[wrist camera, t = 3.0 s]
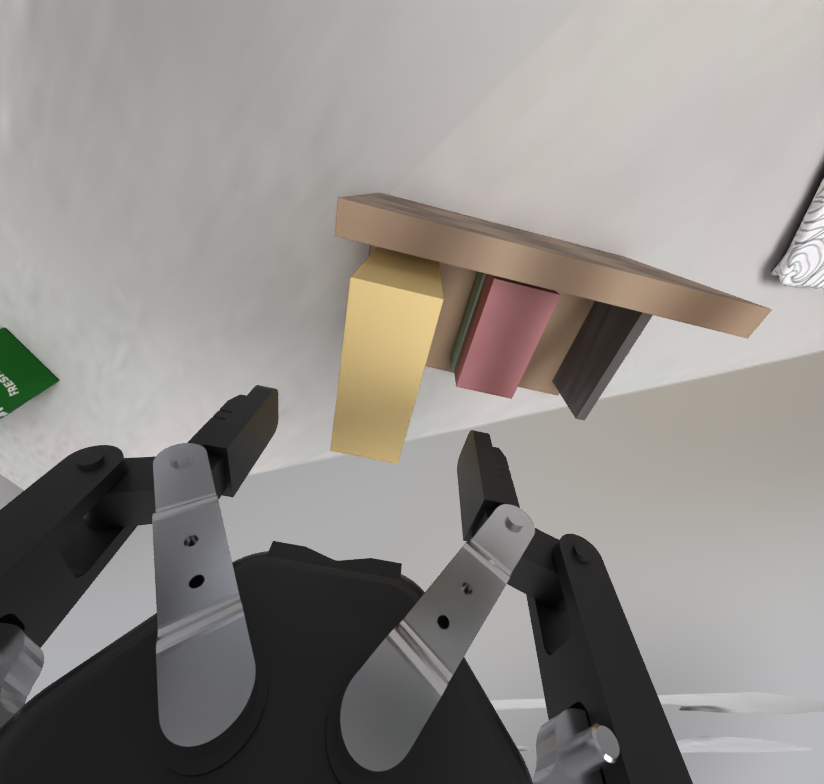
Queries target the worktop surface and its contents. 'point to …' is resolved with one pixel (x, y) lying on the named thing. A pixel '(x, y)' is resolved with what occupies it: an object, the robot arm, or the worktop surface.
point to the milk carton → (19, 374)
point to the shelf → (534, 270)
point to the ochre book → (384, 352)
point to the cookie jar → (806, 249)
